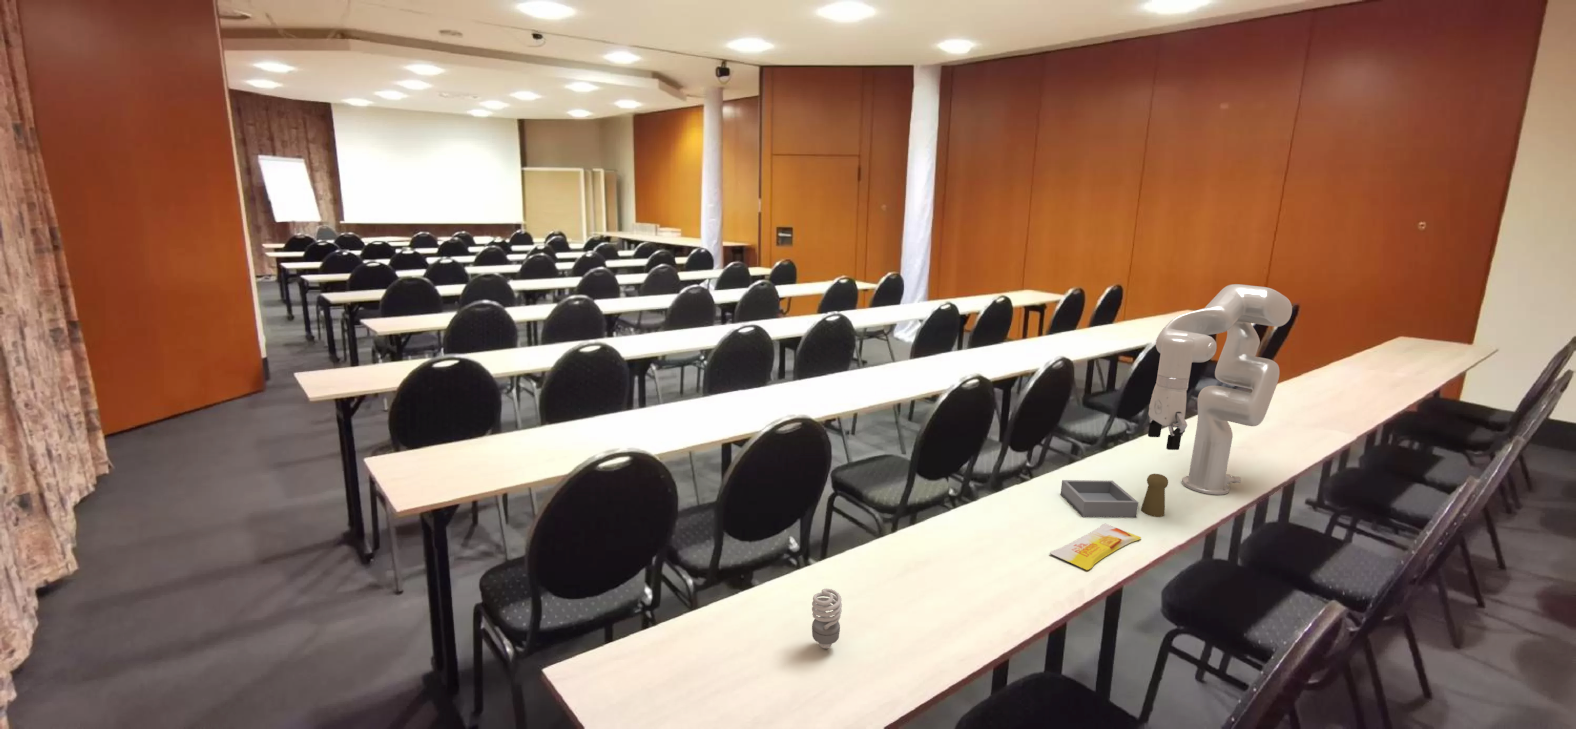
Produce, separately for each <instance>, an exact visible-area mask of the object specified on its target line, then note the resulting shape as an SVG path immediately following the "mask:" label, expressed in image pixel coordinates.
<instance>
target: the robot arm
mask: <svg viewBox="0 0 1576 729" xmlns="http://www.w3.org/2000/svg"><path fill="white" fill-rule="evenodd" d="M1292 314H1293V306H1292V303H1291V300H1289V298H1288V297H1287V296H1286V295H1284V294H1282V293H1281V292H1279V291H1277V290H1275V289H1273V288H1270V287H1266V286H1260V285H1259V286H1257V285H1249V284H1238V283H1235V284H1233V283H1232V284H1228V285H1226V286H1225V287H1223V288H1222V289H1221V290H1219V292H1218V293H1217V294H1216V295H1215V297H1214V296H1213V298H1212V299H1211V300H1210V301H1209V303H1208V304H1207V305H1206V306H1204V307H1203V308H1199V309H1197V310H1193V311H1190V312H1187V313H1184V314H1180V315H1178V316H1176V317H1174V318H1173V319H1172V320H1170V321H1169V322H1168V323H1167V324H1166V325H1165V326H1164V327H1163V328H1162V329H1161V331H1160V332H1159V333H1158V335H1157V337H1156V340H1155V347H1156V350H1157V352H1158V353H1159V354H1160V355H1159V363H1158V368H1157V369H1158V370H1157V376H1156V381H1155V382H1156V383H1155V385H1154V388H1153V390H1152V394H1151V397H1150V398H1151V399H1150V402H1149V404H1148V416H1149V418H1148V422H1149V425H1148V431H1147V436H1148V437H1149V438H1160V437H1161V433H1162V427H1168V432H1169V434H1168V436H1167V440H1166V448H1165V449H1166V450H1168V451H1178V450H1180V446H1181V439H1182V437H1183V435H1184V433H1185V432H1186V429H1187V427H1188V422H1187V421H1186V419H1185V418H1186V410H1187V391H1188V389H1189V382H1190V376H1191V370H1192V363H1205V362H1208V361H1209V360H1211V359H1212V358H1213V357H1214V356H1215V355H1216V352H1217V342H1216V340H1215V339H1214V338H1213V337H1212V336H1211V335H1215V334H1216V335H1217V334H1222V333H1227V334H1226V340H1225V342H1224V345H1223V348H1222V350H1221V353H1220V355H1219V358H1218V361H1217V364H1216V367H1215V369H1214V370H1215V371H1214V377H1215V379H1216V380H1217V381H1219V382H1221V383H1223V384H1227V385H1230V386H1236V387H1240V388H1245V389H1249V390H1251V392H1249V391H1244V390H1239V389H1235V388H1231V387H1227V386H1223V385H1222V386H1220V385H1208V386H1205V387H1204V388H1202V389H1200V392H1199V393H1198V395H1197V421H1196V422H1197V423H1196V430H1195V436H1194V443H1193V447H1192V448H1193V449H1192V453H1191V461H1190V465H1189V471H1188V475H1185V476H1183V477H1182V478H1181V483H1182V485H1183V486H1185V487H1186V488H1188V489H1189V490H1193V491H1194V492H1198V493H1200V494H1201V493H1203V494H1206V495H1215V496H1217V495H1219V496H1220V495H1221V496H1222V495H1225V494H1228V493H1229V492H1230V486H1229V485H1230V484H1232V483H1233V484H1240V483H1241V481H1242V479H1241V477H1240V476H1232V475H1231V474H1227V469H1228V464H1229V460H1230V459H1229V458H1230V454H1231V448H1232V441H1233V438H1234V436H1233V430H1232V427H1231V425H1230V424H1229V422H1230V423H1235V424H1238V425H1243V426H1245V427H1246V426H1247V427H1257V426H1260V424H1261V423H1262V422H1263V421H1264V419H1265V417H1266V414H1267V412H1268V409H1269V407H1270V404H1271V401H1272V399H1273V396H1274V394H1275V391H1276V388H1277V385H1278V383H1279V378H1280V367H1279V364H1278V363H1277V362H1276V361H1274V360H1272V359H1270V358H1265V357H1259V356H1256V355H1257V353H1258V351H1259V347H1260V344H1261V341H1260V337H1259V335H1258V333H1257V331H1256V329H1255V328H1254V326H1253V325H1252V324H1256V325H1262V326H1269V327H1282V326H1284V325H1286V324H1287V323H1288V322H1289V321H1290V319H1291V316H1292ZM1174 428H1175V429H1174Z"/></svg>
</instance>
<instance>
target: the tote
mask: <svg viewBox="0 0 1576 729" xmlns="http://www.w3.org/2000/svg"><path fill="white" fill-rule="evenodd" d="M1060 496H1061V497H1062V498H1064V500H1065V501H1066V502H1067V503H1068V504H1069V505H1070V506H1071V507H1072V508H1073V509H1074V510H1075V511H1076V512H1077V513H1078V514H1079V515H1080V516H1081V517H1082V518H1132V519H1133V518H1137V515H1138V509H1139V501H1138V500H1137V499H1135V498H1134V497H1133V496H1131V495H1130V494H1129V493H1128V492H1127V491H1126V490H1124V489H1123V488H1122V487H1121V486H1119V485H1118V484H1117V483H1116V482H1115V481H1114V480H1092V479H1090V480H1086V479H1085V480H1082V479H1081V480H1080V479H1079V480H1078V479H1077V480H1076V479H1070V480H1069V479H1062V480H1061V486H1060Z"/></svg>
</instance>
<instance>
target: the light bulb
mask: <svg viewBox="0 0 1576 729" xmlns="http://www.w3.org/2000/svg"><path fill="white" fill-rule="evenodd" d="M811 605H812V607H811V611H812V617H813V618H814V620H813V621H812V624H811V636H812V638H813V640H814V641H815V642H816V643H818V646H819V647H820V648H822V649H829V648H831V647H832V645H833V644H834V643H836V642H837V641H839V638H840V631H841V630H840V629H841V624H840V622H839V620H840V619H841V614H842V607H843V606H842V605H843V604H842V597H841V594H839V592H838V591H836V589H835V590H834V589H833V588H823V589H822V590H821V592H817V593H816V594H813V597H812V602H811Z"/></svg>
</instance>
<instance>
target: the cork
mask: <svg viewBox="0 0 1576 729" xmlns="http://www.w3.org/2000/svg"><path fill="white" fill-rule="evenodd" d="M1146 483H1147V485H1148V486H1147V489H1146V492H1145V495H1144V498H1143V501H1142V504H1141V508H1140V512H1141V513H1143V514H1144V515H1147V516H1150V517H1154V518H1162V517H1163V518H1164V517H1165V515H1166V512H1165V511H1166V508H1165V507H1166V488H1168V485H1169V479H1168V477H1166V476H1165V475H1164V474H1161V473H1151V474H1149V475H1147V479H1146Z"/></svg>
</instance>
